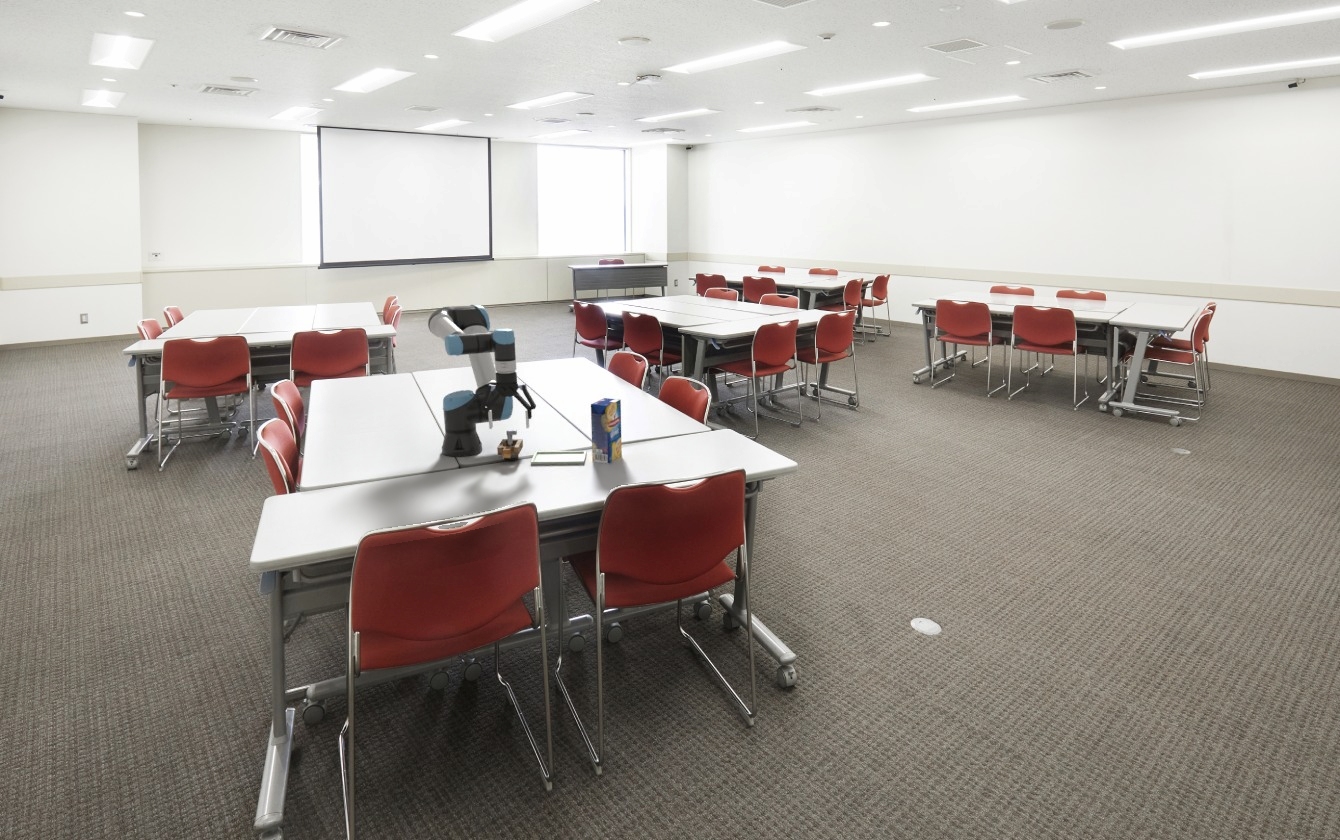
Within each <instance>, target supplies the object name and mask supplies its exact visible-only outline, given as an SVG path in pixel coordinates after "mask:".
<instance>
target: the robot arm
mask: <svg viewBox="0 0 1340 840" xmlns="http://www.w3.org/2000/svg"><path fill="white" fill-rule="evenodd" d="M427 325H428V329H429V331H430V333H431V334H433V336H435V337H437V338H441V340H443V342H444V348H445V352H446V354H447V355H448V356H456V357H458V356H463V355H467V356H468V358H469V361H470V365H471V369H472V373H473V376H474V379H475V382H476V386H477V388H476V389H475V391H474V390H470V389H466V390H464V389H463V390H457V391H453V392H451V393H448V394H446V395H445V396H444V397H443V400H442V410H443V419H444V437H443V443H442V446H441V453H442V455H444V456H447V457H458V458H459V457H461V458H462V457H468V456H473V455H477V454H479V453H481V452H482V451H483V444H482V441H481V438H480V436H479V434H478V431H477V424H481V423H488V428H489V430H492V429H493V427H494V425H493V423H494V422H498V421H499V422H501V421H505V420H508V419H510V418H511V417H512V415H513V411H514V399H513V397H514V398H515V399H516V400H517V401H519V403H520V404H521V405H522V406H523V407H524V408H525V409H526V410H525V426H526V429H529V427H530V420H531V419H532V417H533V414H532V411H533V410H535V409H536V407H537V405H536V402H535V401H534V399H533V398H532V395H530V392H529V390H528V388H527V384H526V383H522V384H518V373H517V358H516V357H517V356H516V355H517V354H516V337H515V331H514V330H513V329H512V328H497V329H494V330H490V329H491V322H490V317H489V313H488V311H487V310H486V308H485V307H484V306H482V305H480V304H477V305H476V304H470V305H459V306H458V305H457V306H456V305H455V306H454V305H453V306H443V307H441V308H439V309H436V310H435V311H433V312H432V314H431V315H430V316H429V319H428V321H427ZM491 353H494V362H493V358H492V355H491ZM519 389H520V391H522V392H523V395H524V397H525V399H526V400H525V399H524V398H523V397H522V396H521V394H520V393H519V391H518V390H519ZM527 401H528V402H527Z"/></svg>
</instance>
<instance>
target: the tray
mask: <svg viewBox="0 0 1340 840" xmlns="http://www.w3.org/2000/svg"><path fill="white" fill-rule="evenodd" d="M586 457H587V450H551V451H550V450H547V451H546V450H544V451H543V450H542V451H541V450H539V451H538V450H537V451H535V452H534V454H533V456H532V458H531V460H530V466H555V465H559V466H561V465H562V466H563V465H565V466H566V465H568V466H569V465H573V466H574V465H585V463H586Z"/></svg>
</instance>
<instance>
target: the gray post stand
mask: <svg viewBox="0 0 1340 840" xmlns="http://www.w3.org/2000/svg"><path fill="white" fill-rule="evenodd" d="M517 434H518V430H517V429H506V437H507V438H506V439H508V446H513V441H512V439H513V436H516V435H517ZM519 455H520V454H519ZM519 455H511V457H510V458H503V461H504V462H506V463H515V462H517V461H519V459H520V456H519Z"/></svg>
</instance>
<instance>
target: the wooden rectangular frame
mask: <svg viewBox="0 0 1340 840" xmlns="http://www.w3.org/2000/svg"><path fill="white" fill-rule="evenodd" d="M512 441H513V446H508V439H507V438H505V439H504V438H503V439H501V441H500V443H499V444H498V446H497V449H496V450H497V451H496V452H497V456H502V457H503V458H510V457H511V455H520V453H521V452H522V450H523V447H524V441H523V438H512Z"/></svg>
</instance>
